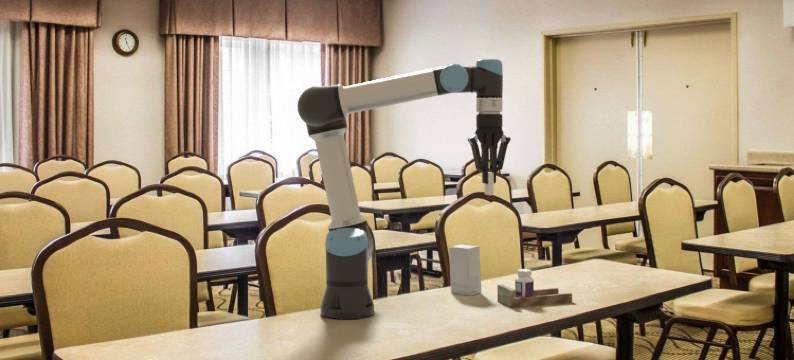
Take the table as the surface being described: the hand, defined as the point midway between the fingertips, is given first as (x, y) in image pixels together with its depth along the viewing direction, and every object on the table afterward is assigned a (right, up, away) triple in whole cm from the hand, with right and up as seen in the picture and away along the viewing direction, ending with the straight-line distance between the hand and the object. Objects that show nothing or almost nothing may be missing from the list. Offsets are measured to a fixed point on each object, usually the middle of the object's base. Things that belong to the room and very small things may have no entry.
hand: (489, 194), depth 262 cm
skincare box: (-6, -31, +19) cm, 37 cm away
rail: (+14, -32, +5) cm, 35 cm away
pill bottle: (+11, -32, +4) cm, 34 cm away
